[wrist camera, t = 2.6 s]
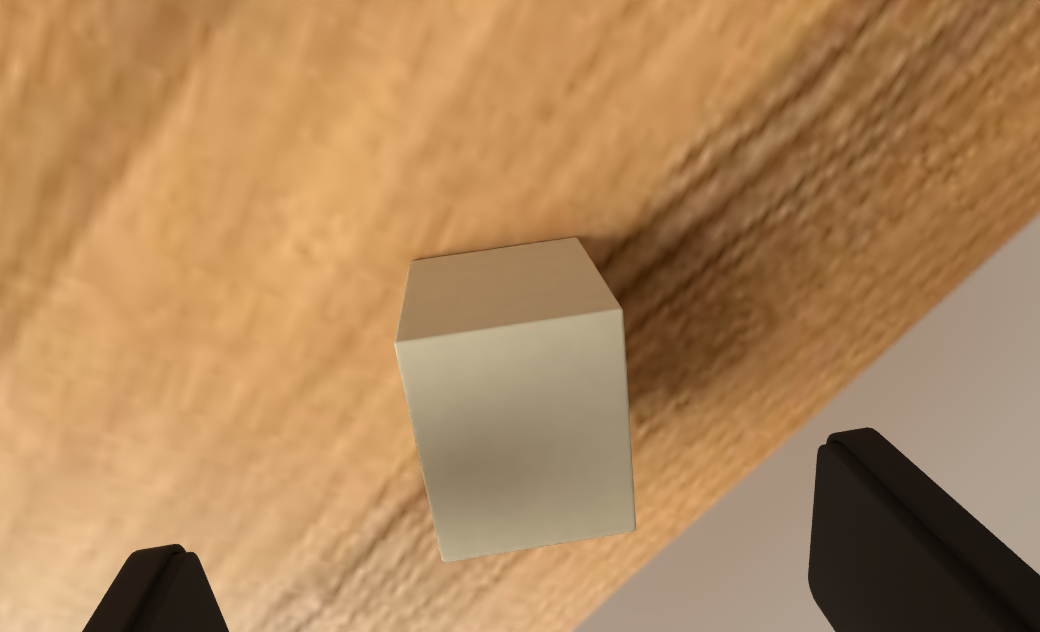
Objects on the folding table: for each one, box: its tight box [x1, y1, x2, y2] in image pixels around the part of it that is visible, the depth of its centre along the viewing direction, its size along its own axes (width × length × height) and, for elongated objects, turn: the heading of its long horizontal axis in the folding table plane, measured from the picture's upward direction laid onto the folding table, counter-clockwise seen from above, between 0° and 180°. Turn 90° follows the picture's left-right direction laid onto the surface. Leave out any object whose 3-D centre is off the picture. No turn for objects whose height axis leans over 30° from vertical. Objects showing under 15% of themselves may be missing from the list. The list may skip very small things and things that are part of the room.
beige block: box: [394, 237, 636, 563], centre depth 14 cm, size 4×5×4 cm
